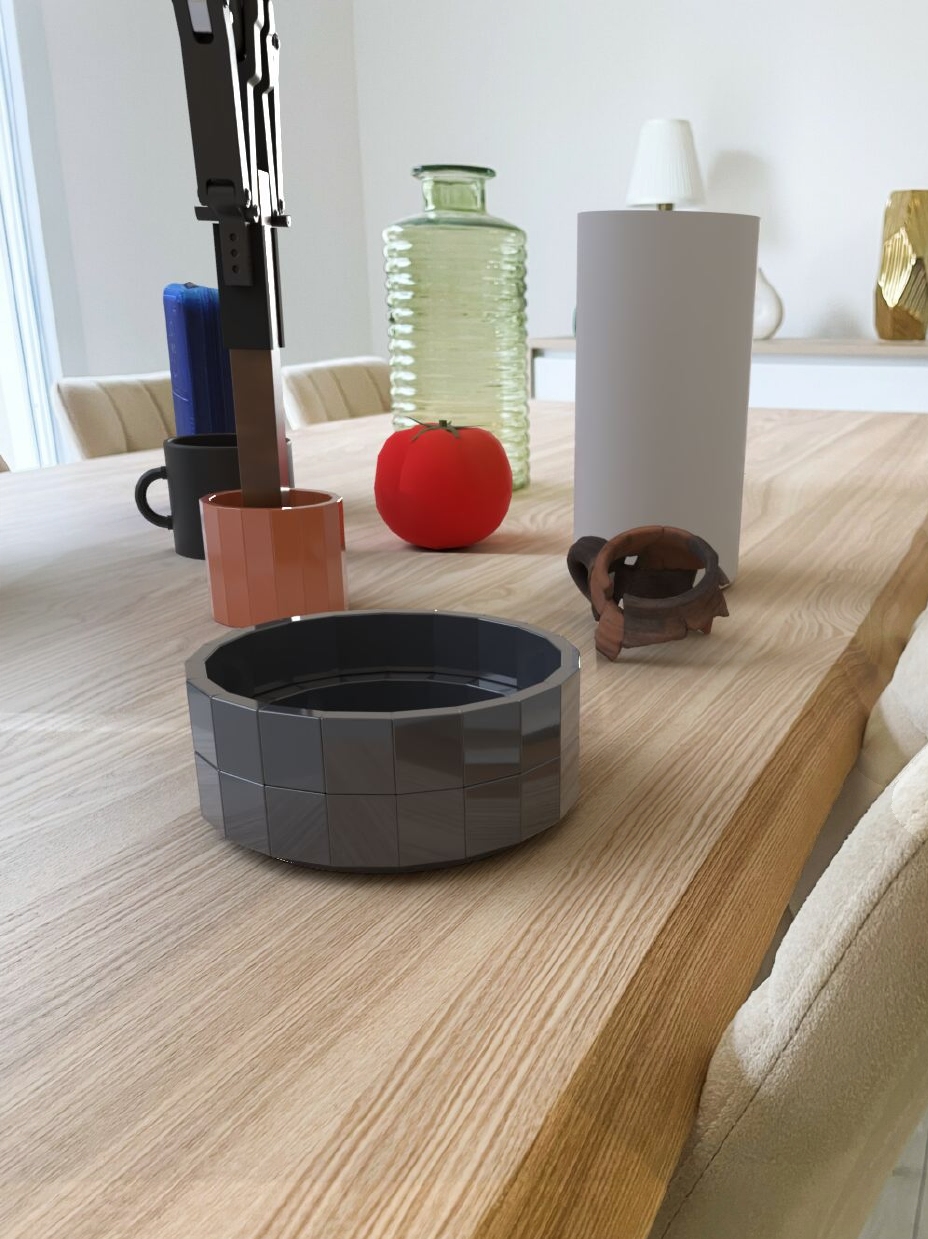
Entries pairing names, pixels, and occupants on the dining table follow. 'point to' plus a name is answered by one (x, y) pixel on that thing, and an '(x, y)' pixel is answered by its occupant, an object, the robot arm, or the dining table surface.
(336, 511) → the pot
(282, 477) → the stick
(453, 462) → the tomato
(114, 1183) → the dining table surface
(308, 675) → the bowl
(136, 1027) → the dining table surface
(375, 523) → the dining table surface
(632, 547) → the pottery mug
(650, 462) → the cylinder vase
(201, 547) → the mug
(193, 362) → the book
